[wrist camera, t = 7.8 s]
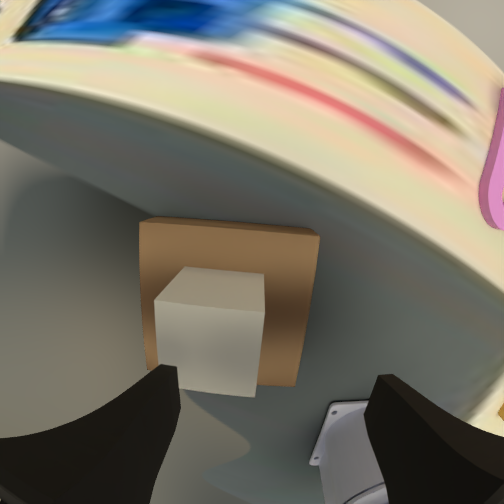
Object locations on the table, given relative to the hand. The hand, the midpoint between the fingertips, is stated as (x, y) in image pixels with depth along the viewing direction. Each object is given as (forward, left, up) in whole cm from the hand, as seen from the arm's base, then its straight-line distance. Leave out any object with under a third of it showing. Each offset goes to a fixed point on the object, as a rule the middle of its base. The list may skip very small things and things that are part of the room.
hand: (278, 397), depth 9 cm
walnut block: (0, +3, -10) cm, 11 cm away
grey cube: (0, +3, -7) cm, 8 cm away
